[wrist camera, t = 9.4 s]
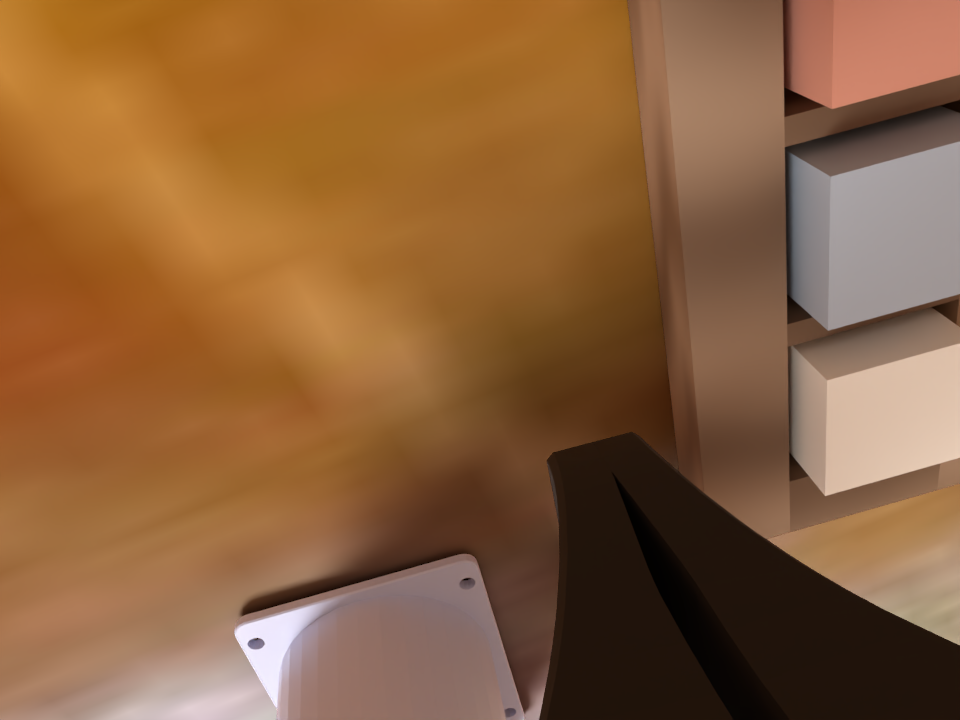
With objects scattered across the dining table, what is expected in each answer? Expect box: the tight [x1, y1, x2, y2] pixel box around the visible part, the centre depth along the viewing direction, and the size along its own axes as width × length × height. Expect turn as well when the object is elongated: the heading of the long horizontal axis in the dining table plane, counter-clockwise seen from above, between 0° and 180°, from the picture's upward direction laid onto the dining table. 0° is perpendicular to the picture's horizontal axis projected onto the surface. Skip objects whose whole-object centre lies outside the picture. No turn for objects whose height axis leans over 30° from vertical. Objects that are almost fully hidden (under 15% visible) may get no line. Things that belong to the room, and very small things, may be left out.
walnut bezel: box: [627, 0, 960, 539], centre depth 21 cm, size 20×10×2 cm, turn 12°
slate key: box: [785, 106, 960, 331], centre depth 20 cm, size 4×4×3 cm
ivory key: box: [788, 307, 960, 496], centre depth 23 cm, size 4×4×3 cm
